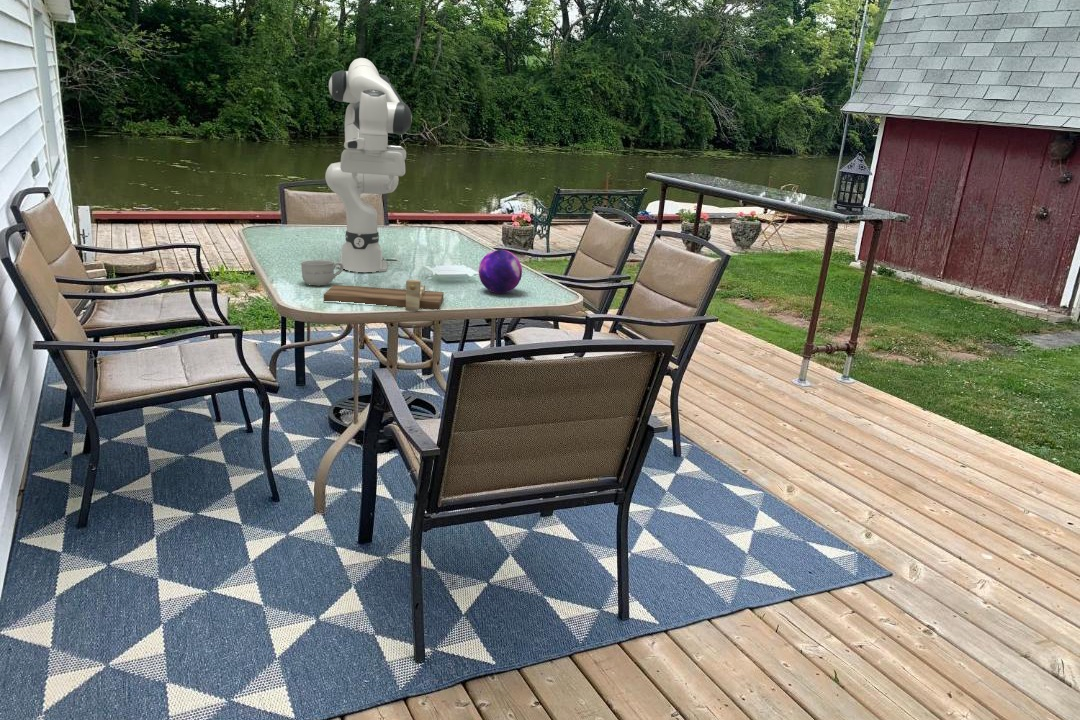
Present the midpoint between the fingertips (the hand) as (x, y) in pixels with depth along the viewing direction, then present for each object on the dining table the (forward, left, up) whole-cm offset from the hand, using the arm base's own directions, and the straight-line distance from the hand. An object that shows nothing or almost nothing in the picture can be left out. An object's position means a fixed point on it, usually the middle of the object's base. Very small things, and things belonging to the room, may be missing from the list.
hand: (373, 188), depth 258 cm
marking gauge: (+12, +16, -34) cm, 39 cm away
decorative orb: (-12, +42, -34) cm, 56 cm away
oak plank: (+10, +6, -34) cm, 36 cm away
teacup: (-7, -18, -34) cm, 39 cm away
